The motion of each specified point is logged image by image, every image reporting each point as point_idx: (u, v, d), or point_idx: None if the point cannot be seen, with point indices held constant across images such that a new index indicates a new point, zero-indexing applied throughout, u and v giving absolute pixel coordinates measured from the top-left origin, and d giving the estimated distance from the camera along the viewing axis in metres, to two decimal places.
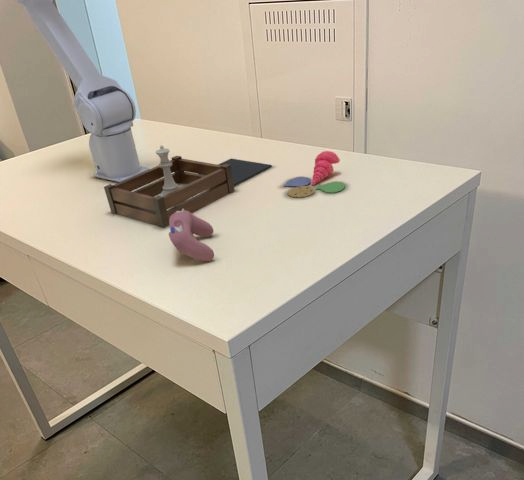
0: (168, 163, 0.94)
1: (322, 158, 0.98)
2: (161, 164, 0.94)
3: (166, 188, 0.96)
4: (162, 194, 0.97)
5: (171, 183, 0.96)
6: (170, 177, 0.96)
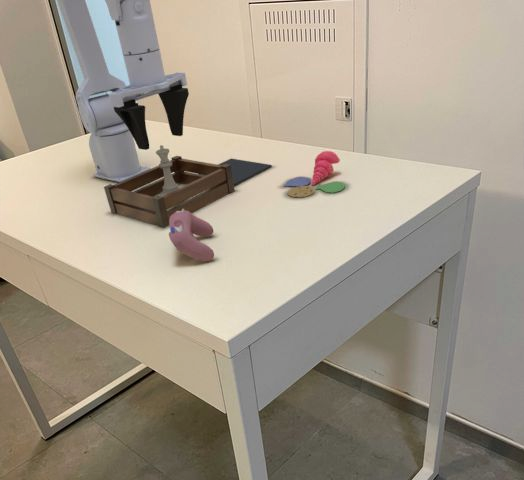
0: (168, 163, 0.94)
1: (322, 158, 0.98)
2: (161, 164, 0.94)
3: (166, 188, 0.96)
4: (162, 194, 0.97)
5: (171, 183, 0.96)
6: (170, 177, 0.96)
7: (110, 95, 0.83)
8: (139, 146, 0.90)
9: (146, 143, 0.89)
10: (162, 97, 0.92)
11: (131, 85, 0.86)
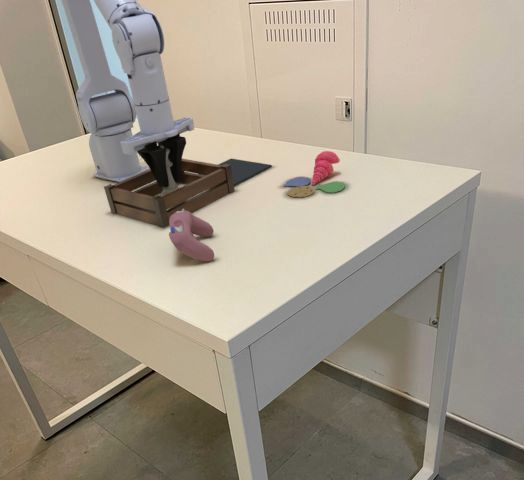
0: (168, 163, 0.94)
1: (322, 158, 0.98)
2: None
3: (166, 188, 0.96)
4: (162, 194, 0.97)
5: (171, 183, 0.96)
6: (170, 177, 0.96)
7: (122, 143, 0.88)
8: (159, 184, 0.96)
9: (166, 182, 0.95)
10: None
11: (142, 132, 0.90)
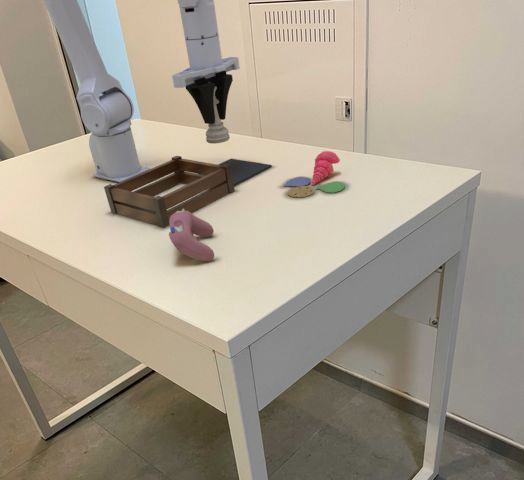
0: (215, 100, 0.98)
1: (322, 158, 0.98)
2: None
3: (212, 125, 1.00)
4: (208, 132, 1.00)
5: (217, 120, 1.00)
6: (216, 114, 0.99)
7: (174, 76, 0.91)
8: (205, 121, 0.99)
9: (212, 118, 0.98)
10: None
11: (191, 68, 0.94)
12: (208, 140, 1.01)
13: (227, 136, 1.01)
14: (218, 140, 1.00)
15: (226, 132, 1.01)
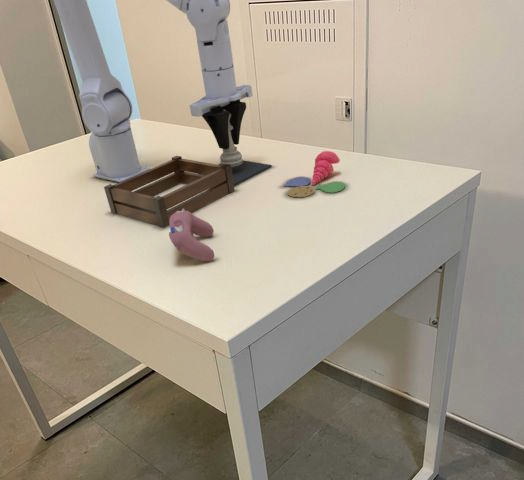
0: (229, 126, 1.02)
1: (322, 158, 0.98)
2: None
3: (226, 150, 1.04)
4: (222, 156, 1.05)
5: (231, 145, 1.04)
6: (230, 140, 1.04)
7: (191, 106, 0.96)
8: (220, 146, 1.04)
9: (227, 144, 1.03)
10: None
11: (207, 97, 0.98)
12: (222, 164, 1.06)
13: (240, 160, 1.06)
14: (232, 164, 1.05)
15: (240, 156, 1.05)
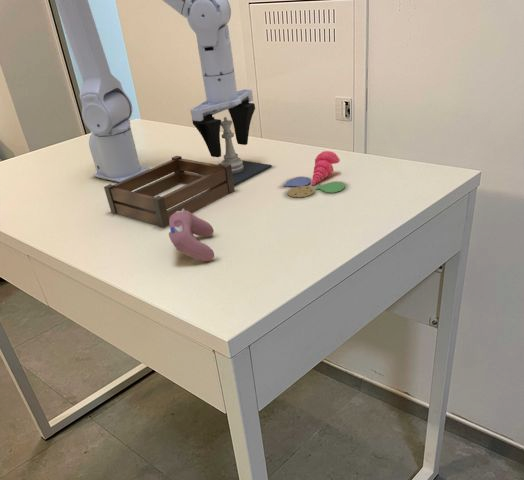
0: (230, 134, 1.03)
1: (322, 158, 0.98)
2: (224, 134, 1.03)
3: (227, 157, 1.05)
4: (223, 163, 1.06)
5: (232, 152, 1.05)
6: (231, 147, 1.05)
7: (192, 110, 0.96)
8: (212, 154, 1.03)
9: (219, 152, 1.02)
10: (231, 111, 1.05)
11: (208, 101, 0.99)
12: None
13: (241, 167, 1.07)
14: (233, 171, 1.06)
15: (240, 163, 1.06)
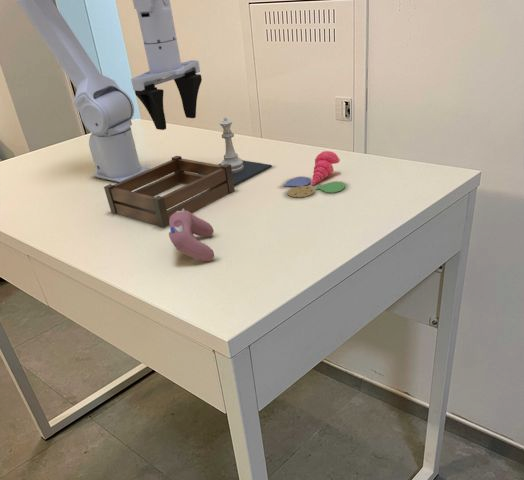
0: (230, 134, 1.03)
1: (322, 158, 0.98)
2: (224, 134, 1.03)
3: (227, 157, 1.05)
4: (223, 163, 1.06)
5: (232, 152, 1.05)
6: (231, 147, 1.05)
7: (132, 80, 0.93)
8: (157, 127, 1.00)
9: (163, 124, 0.99)
10: (178, 83, 1.02)
11: (151, 71, 0.96)
12: None
13: (241, 167, 1.07)
14: (233, 171, 1.06)
15: (240, 163, 1.06)
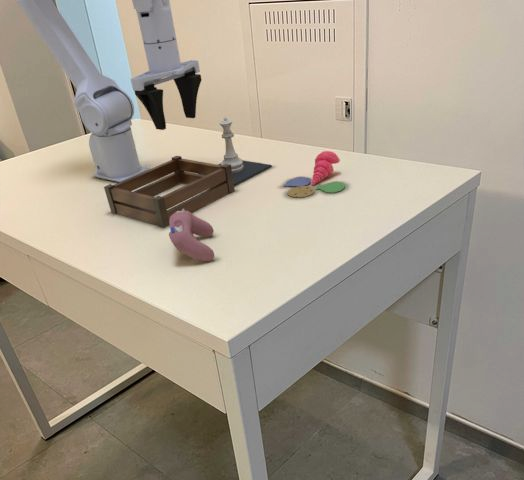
0: (230, 134, 1.03)
1: (322, 158, 0.98)
2: (224, 134, 1.03)
3: (227, 157, 1.05)
4: (223, 163, 1.06)
5: (232, 152, 1.05)
6: (231, 147, 1.05)
7: (132, 80, 0.93)
8: (156, 127, 1.00)
9: (163, 124, 0.99)
10: (177, 83, 1.02)
11: (150, 71, 0.96)
12: None
13: (241, 167, 1.07)
14: (233, 171, 1.06)
15: (240, 163, 1.06)
